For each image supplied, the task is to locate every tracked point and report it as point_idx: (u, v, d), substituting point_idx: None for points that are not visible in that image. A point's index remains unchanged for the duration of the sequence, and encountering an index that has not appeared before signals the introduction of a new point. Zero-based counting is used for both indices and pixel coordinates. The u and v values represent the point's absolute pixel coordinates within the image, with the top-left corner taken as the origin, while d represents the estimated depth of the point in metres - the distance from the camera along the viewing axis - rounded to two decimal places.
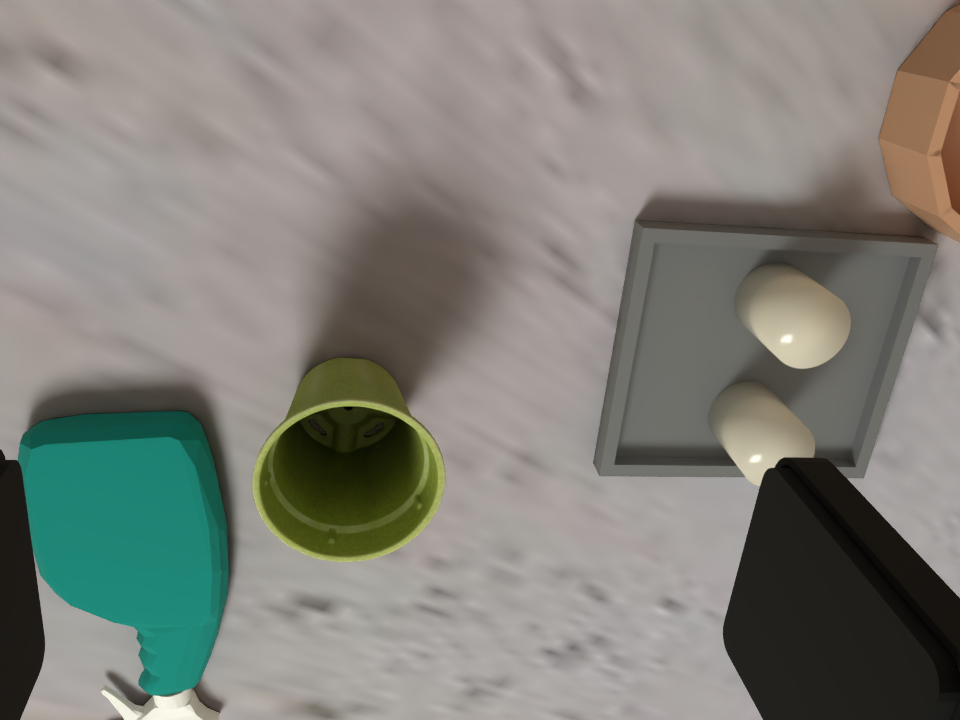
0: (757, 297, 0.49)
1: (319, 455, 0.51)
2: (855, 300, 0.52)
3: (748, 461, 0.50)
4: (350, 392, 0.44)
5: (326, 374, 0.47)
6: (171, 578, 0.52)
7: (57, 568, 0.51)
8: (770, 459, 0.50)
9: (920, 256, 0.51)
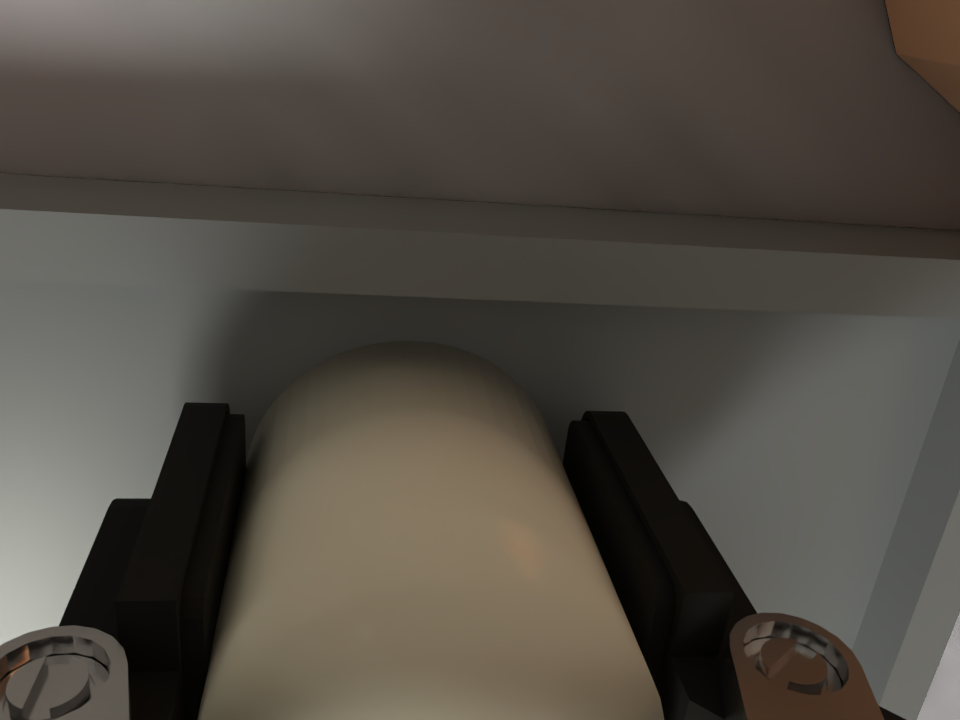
0: (237, 531, 0.10)
1: None
2: (754, 480, 0.14)
3: None
4: None
5: None
6: None
7: None
8: None
9: None
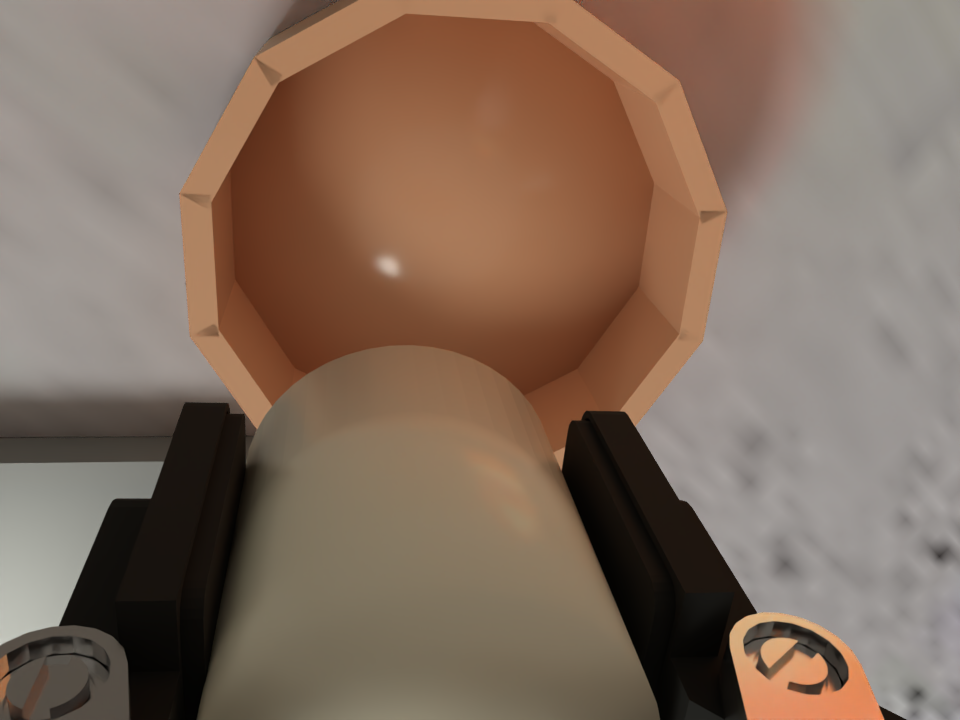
0: (236, 535, 0.10)
1: None
2: None
3: None
4: None
5: None
6: None
7: None
8: None
9: None
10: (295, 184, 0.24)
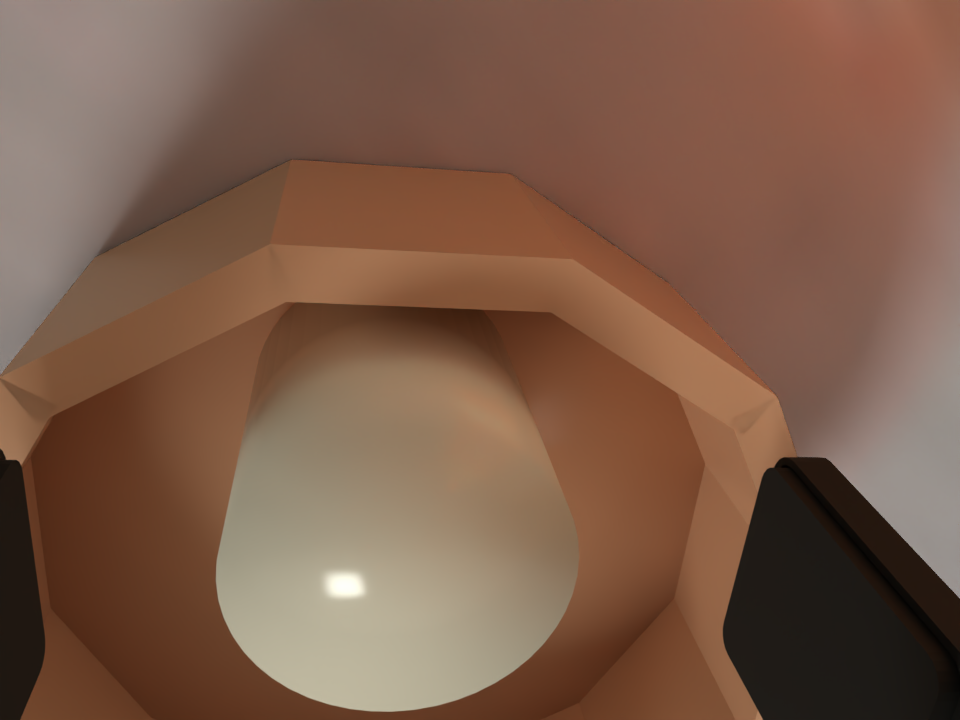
0: (249, 411, 0.13)
1: None
2: None
3: None
4: None
5: None
6: None
7: None
8: None
9: None
10: (140, 477, 0.15)
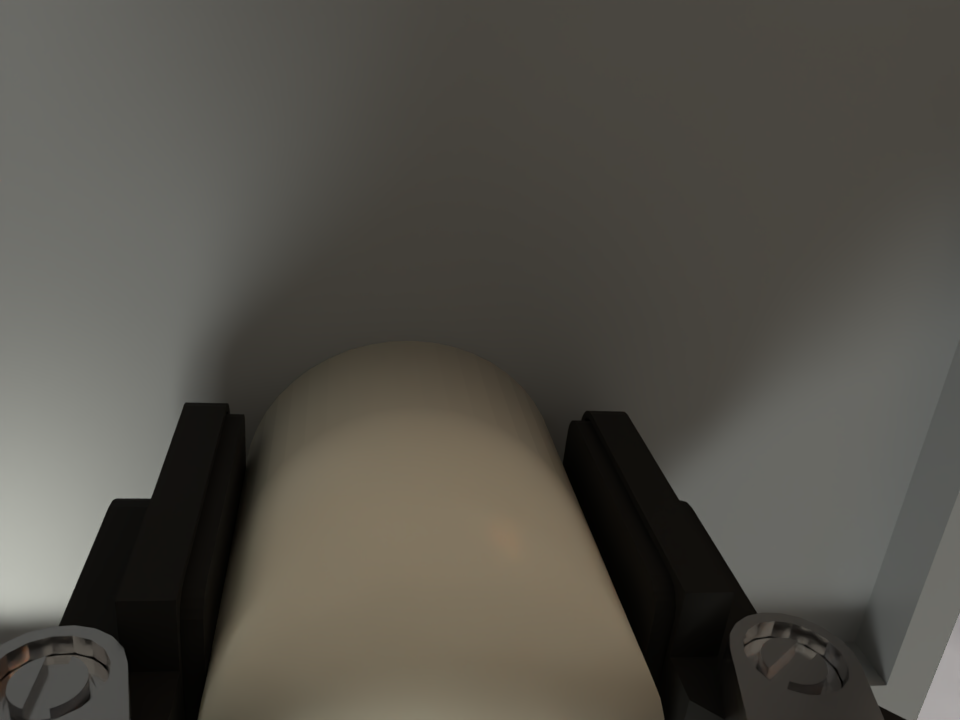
0: None
1: None
2: None
3: None
4: None
5: None
6: None
7: None
8: None
9: None
10: None
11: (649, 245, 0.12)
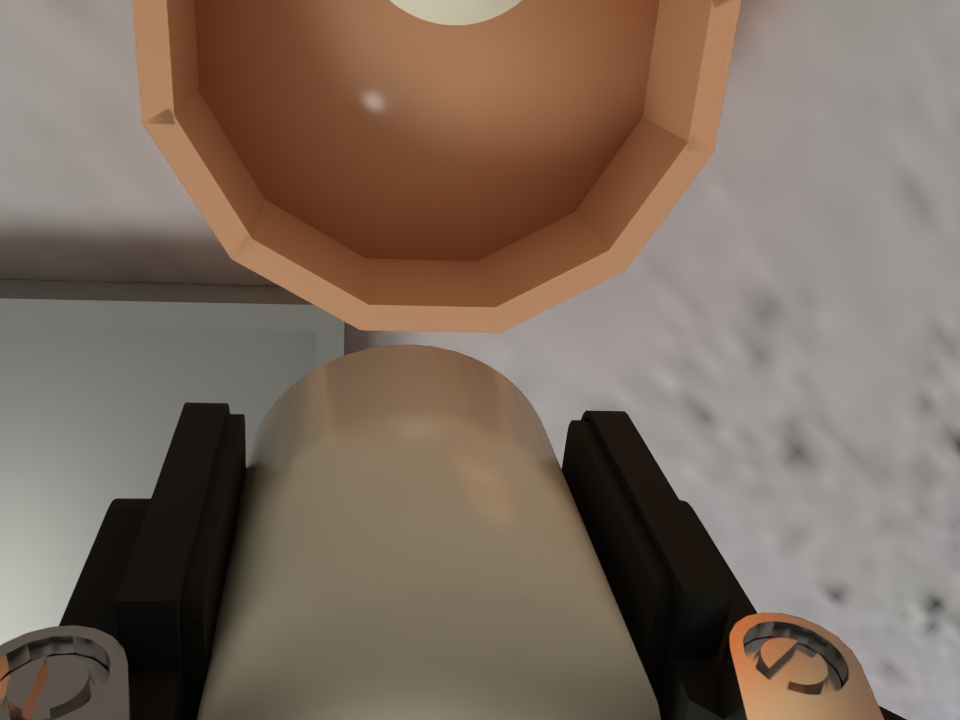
0: None
1: None
2: (230, 410, 0.27)
3: None
4: None
5: None
6: None
7: None
8: None
9: (313, 329, 0.25)
10: None
11: None
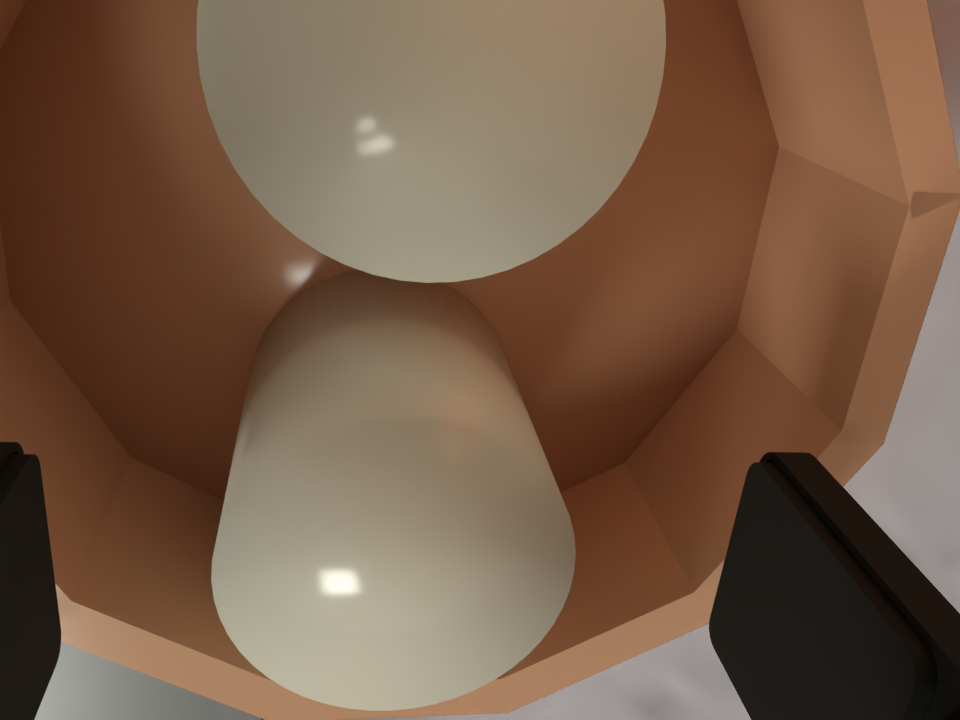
0: None
1: None
2: None
3: (257, 609, 0.11)
4: None
5: None
6: None
7: None
8: (367, 598, 0.11)
9: None
10: (115, 125, 0.13)
11: None
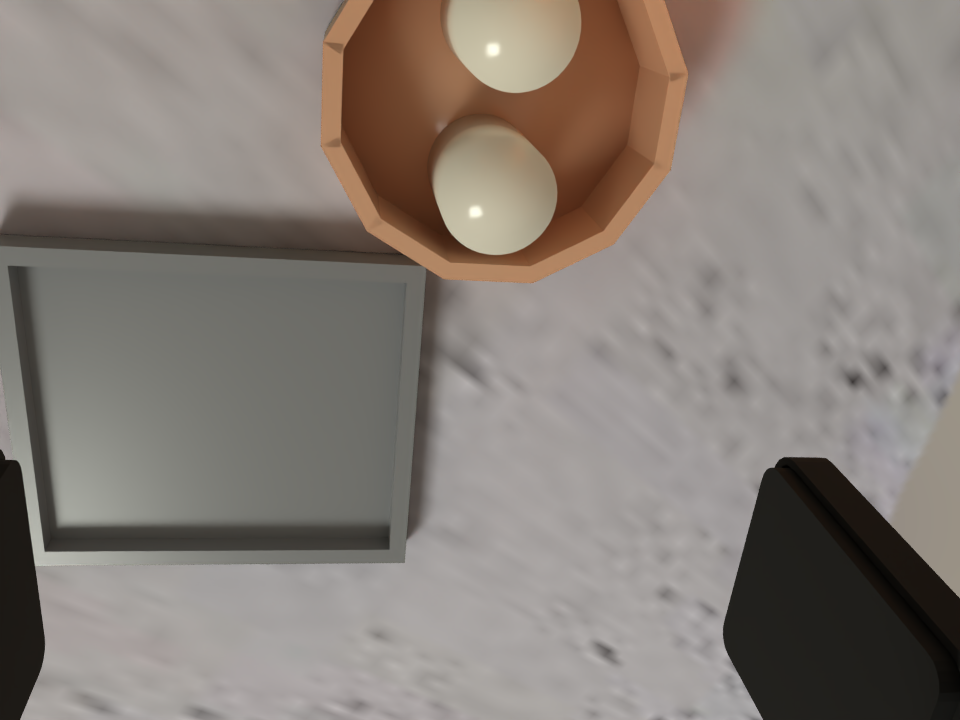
0: None
1: None
2: (342, 338, 0.40)
3: (452, 208, 0.33)
4: None
5: None
6: None
7: None
8: (488, 206, 0.33)
9: (405, 281, 0.38)
10: (387, 54, 0.35)
11: (288, 415, 0.41)
